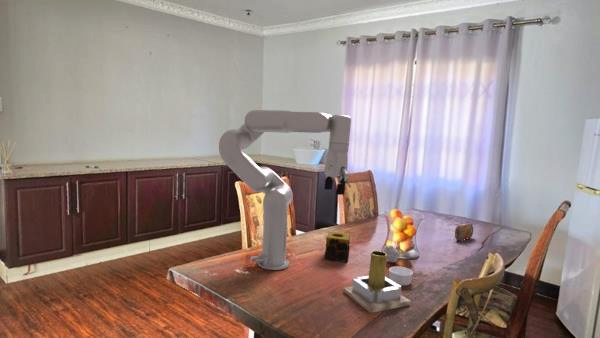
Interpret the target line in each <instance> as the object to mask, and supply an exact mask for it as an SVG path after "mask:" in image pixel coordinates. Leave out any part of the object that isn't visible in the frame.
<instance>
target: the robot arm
mask: <svg viewBox="0 0 600 338" xmlns="http://www.w3.org/2000/svg"><path fill="white" fill-rule="evenodd" d="M351 125H352V118H351V116H349V115H348V114H347V115H345V114H329V113H325V112H319V111H290V110H274V109H273V110H271V109H270V110H269V109H267V110H266V109H254V110H253V109H252V110H250V111H248V112H247V113H246V115H245V116H244V123H243V124H242V125H241V126H240V127H239V128H235V129H230V130H227V131H225V132H224V133H223V134H222V135H221V136H220V138H219V142H218V152H219V156H220V157H221V160H222V161H223V163H225V164H226V166H227V167H228V168H229V169H230V170H231V171H232V172H233V173H234V174H235V175H236V176H237V177H238V178H239V179H240V180H241V181H242V182H243V184H245V185H246V186H247V187H248V188H249V189H250V191H252V192H255V193H260V192H263V193H264V194H265V195H263V200H262V207H263V208H262V209H263V225H262V226H263V227H262V228H263V229H262V230H263V233H262V251H261V252H259V254H257V256H255V255H254V256H253V255H252V256H250V259H249V260H250V262H255V264H256V263H257V265H258V266H259V267H260V268H261V269H265V270H268V271H279V270H281V271H282V270H284V269H287V268H289V266H290V261H289V260H288V259H286V256H287V237H288V206H289V205H290V204H291V203H292V202H293V198H294V193H293V190H292V188H291V187H290V186H289V185H288V184H287V183H286V182H285V181H284V180H283V179H282V178H281V177H280V176H279V175H278V174H277V173H276V172H275V171H274V170H272V169H271V168H270V167H268V166H259V165H258V164H257V163H255V162H254V160H252V158H251V157H250V156H248V155H247V154H246V153H245V152H243V150H246V149H247V148H249V147H250V146H251V145H252V144H253V143H255V142H256V141H257V140H258V139H259V138H261V136H262V135H264V133H281V134H282V133H286V134H287V133H289V134H290V133H312V134H313V133H314V134H316V133H317V134H319V133H321V134H322V133H329V139H328V149H327V153H326V158H325V162H324V163H325V164H324V171H323V172H324V175H325V176H324V179H325V180H324V190H333V183H334V182H333V181H334V179H336V180H337V184H336V195H341V196H344V195H345V191H346V185H347V182H348V179H349V177H350V176H349V175H350V174H349V172H348V163H349V161H348V156H349V155H348V153H349V145H350V136H351V129H352V128H351Z"/></svg>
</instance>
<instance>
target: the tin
mask: <svg viewBox="0 0 600 338" xmlns="http://www.w3.org/2000/svg"><path fill="white" fill-rule="evenodd" d="M473 232H474V226H473V224H472V223H466V222H465V223H462V224H459V225H457V226H456V227H455V230H454V238H455V240H456V241H458V242H459V241H460V242H463V241H462V240H464V239H467V238H470V239H471V238H472V237H473V235H474V234H473Z"/></svg>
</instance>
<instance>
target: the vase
mask: <svg viewBox="0 0 600 338" xmlns="http://www.w3.org/2000/svg"><path fill="white" fill-rule="evenodd" d="M387 261H388V260H387V254H386V253H385V252H384V251H380V250H373V251H371V252H370V261H369V263H370V264H369V271H368V276H369V277H368V286H370V287H371V288H373V289H374V290H375V289H381V288H385V277H386V271H387V268H386V267H387Z"/></svg>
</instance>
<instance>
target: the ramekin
mask: <svg viewBox="0 0 600 338" xmlns="http://www.w3.org/2000/svg"><path fill="white" fill-rule="evenodd" d="M388 272H389V279H390V280H392V281H393V282H395V283H396V284H398V285H400V286H409V285H410V284H411V283H412V278H413V274H414V272H413V270H412V269H410V268H407V267H404V266H391V267H389V269H388Z"/></svg>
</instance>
